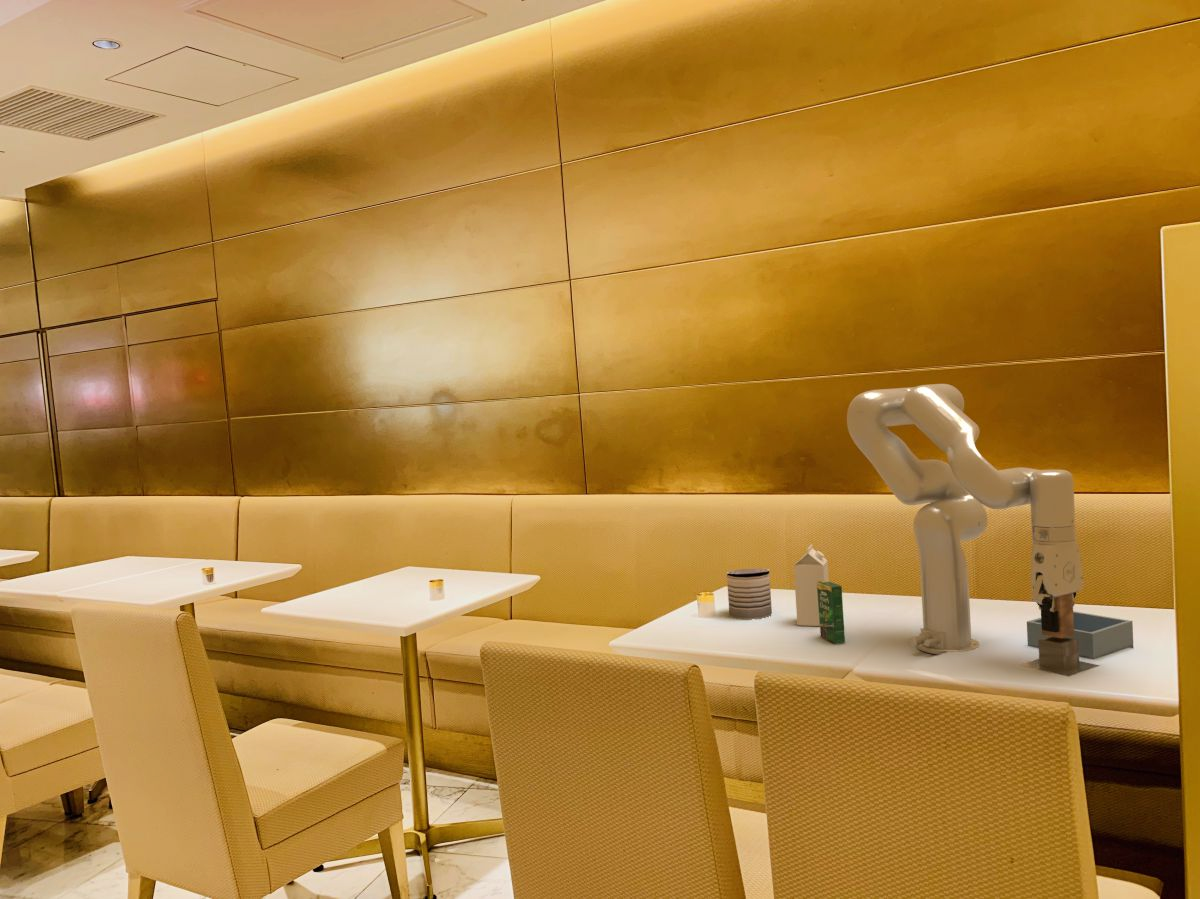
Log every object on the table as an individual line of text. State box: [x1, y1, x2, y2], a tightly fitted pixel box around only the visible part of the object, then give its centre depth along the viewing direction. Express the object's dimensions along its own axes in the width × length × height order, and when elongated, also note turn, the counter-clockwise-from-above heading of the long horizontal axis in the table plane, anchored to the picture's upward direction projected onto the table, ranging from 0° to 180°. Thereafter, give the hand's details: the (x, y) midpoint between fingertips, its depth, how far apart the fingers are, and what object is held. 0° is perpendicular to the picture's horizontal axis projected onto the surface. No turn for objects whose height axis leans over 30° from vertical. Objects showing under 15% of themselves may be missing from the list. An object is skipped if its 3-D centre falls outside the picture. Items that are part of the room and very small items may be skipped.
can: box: [726, 568, 773, 621], centre depth 235 cm, size 11×11×12 cm
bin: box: [1026, 610, 1134, 660], centre depth 186 cm, size 14×14×6 cm
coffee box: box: [817, 580, 846, 645], centre depth 206 cm, size 8×3×13 cm, turn 10°
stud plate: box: [1020, 658, 1101, 678], centre depth 174 cm, size 10×10×5 cm
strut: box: [1038, 592, 1080, 671], centre depth 174 cm, size 5×5×14 cm
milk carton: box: [793, 544, 830, 627], centre depth 222 cm, size 7×7×19 cm
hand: (1057, 627), depth 174 cm, fingers closed on strut, 4 cm apart
